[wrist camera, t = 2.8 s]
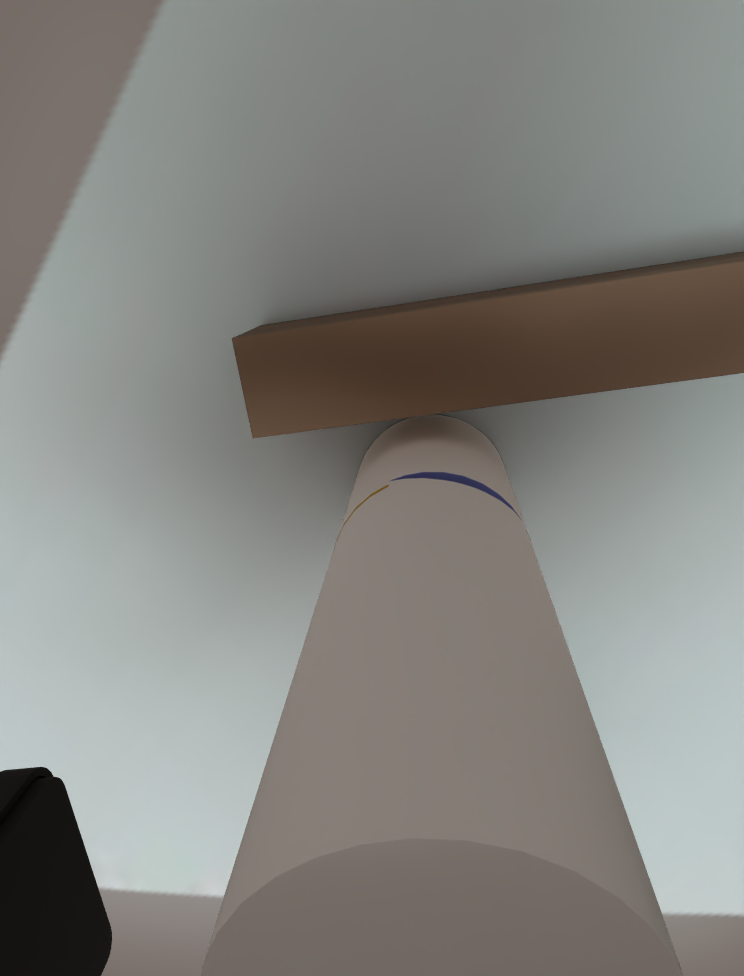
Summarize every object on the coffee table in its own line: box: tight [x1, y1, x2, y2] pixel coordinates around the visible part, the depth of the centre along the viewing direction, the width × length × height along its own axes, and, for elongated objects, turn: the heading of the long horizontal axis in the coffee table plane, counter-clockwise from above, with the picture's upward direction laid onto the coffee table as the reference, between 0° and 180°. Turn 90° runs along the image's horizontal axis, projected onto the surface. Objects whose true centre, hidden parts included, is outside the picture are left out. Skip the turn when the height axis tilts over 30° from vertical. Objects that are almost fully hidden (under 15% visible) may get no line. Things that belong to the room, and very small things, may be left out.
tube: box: [201, 415, 684, 976], centre depth 13 cm, size 4×4×15 cm
